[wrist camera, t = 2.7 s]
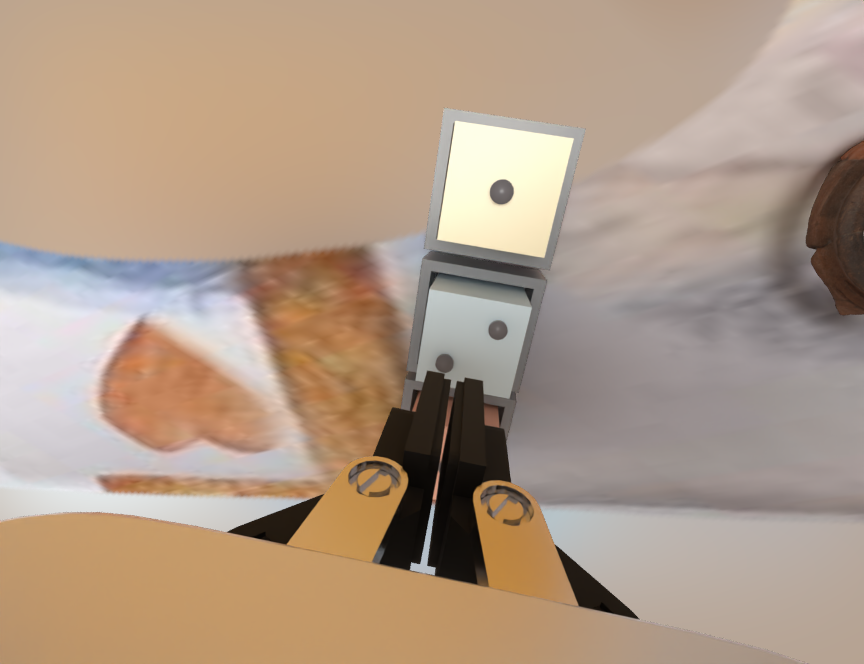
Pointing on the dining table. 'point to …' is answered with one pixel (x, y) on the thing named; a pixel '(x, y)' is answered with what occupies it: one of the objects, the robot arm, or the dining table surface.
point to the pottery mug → (841, 232)
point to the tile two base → (482, 271)
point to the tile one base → (441, 176)
